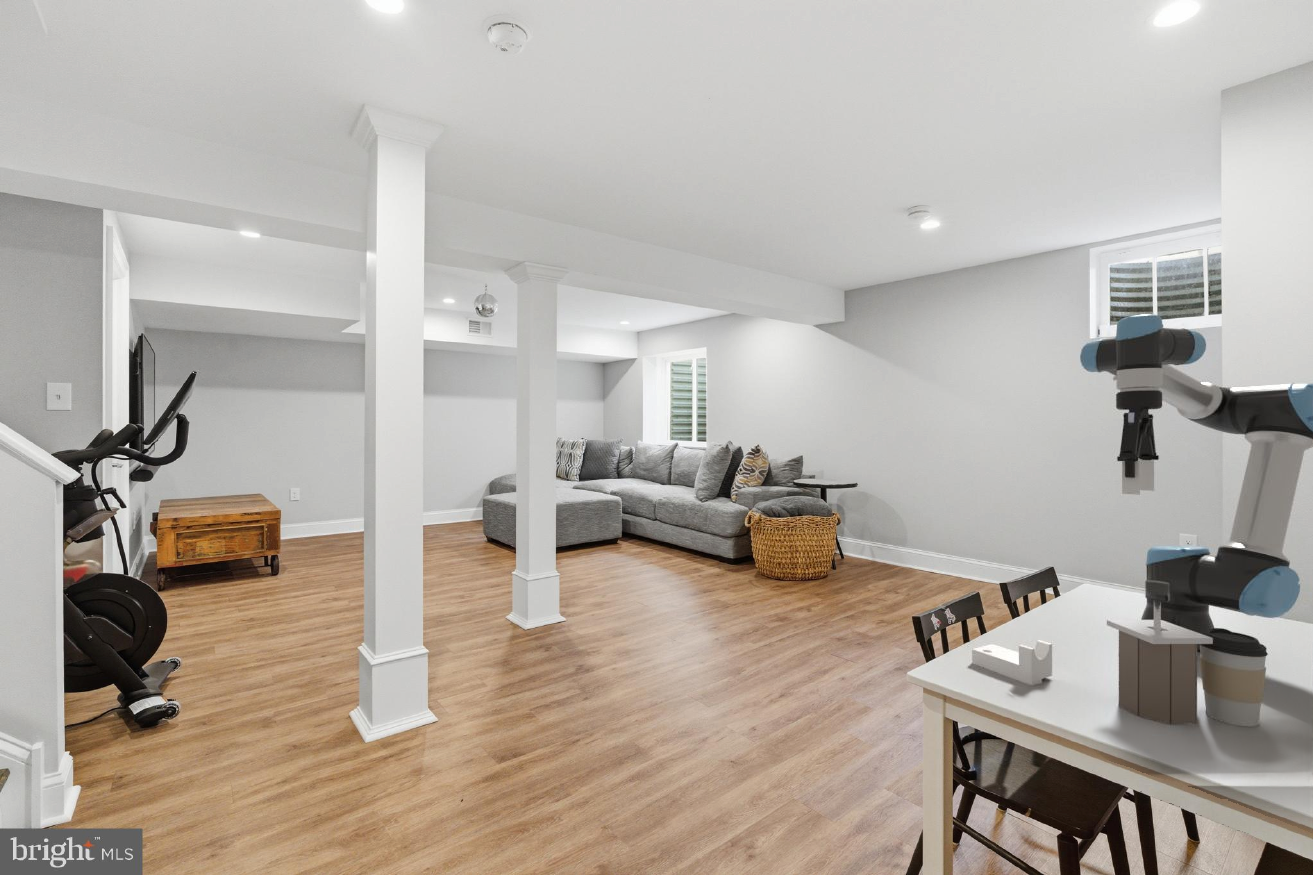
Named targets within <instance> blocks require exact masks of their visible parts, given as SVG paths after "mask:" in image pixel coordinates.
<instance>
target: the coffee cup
mask: <svg viewBox="0 0 1313 875" xmlns="http://www.w3.org/2000/svg"><path fill="white" fill-rule="evenodd" d="M1205 636H1208V637H1211V638H1213V644H1200V650H1199V652H1200V655H1199V662H1200V674H1201V683H1202V684H1201V685H1202V690H1203V694H1204V704H1205V712H1206V715H1207V716H1209V717H1211V718H1213V719H1214V720H1218V721H1221V722H1222V723H1227V724H1230V725H1235V726H1242V727H1257V726H1259V724H1260V717H1261V716H1260V714H1261V708H1262V707H1261V706H1262V705H1261V704H1262V702H1263V698H1264V691H1265V690H1264V689H1265V681H1266V672H1267V667H1266V661H1267V660H1266V659H1267V656H1268V655H1269V654H1268V652H1267V647H1266V646H1265V644H1262V643H1260V641H1259V640H1258V638H1256V637H1254V636H1251V635H1249V634H1244V633H1240V632H1234V631H1232V630H1229V629H1226V628H1220V627H1214V628H1213V629H1211V630H1210V631H1207V632H1206V634H1205Z"/></svg>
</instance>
